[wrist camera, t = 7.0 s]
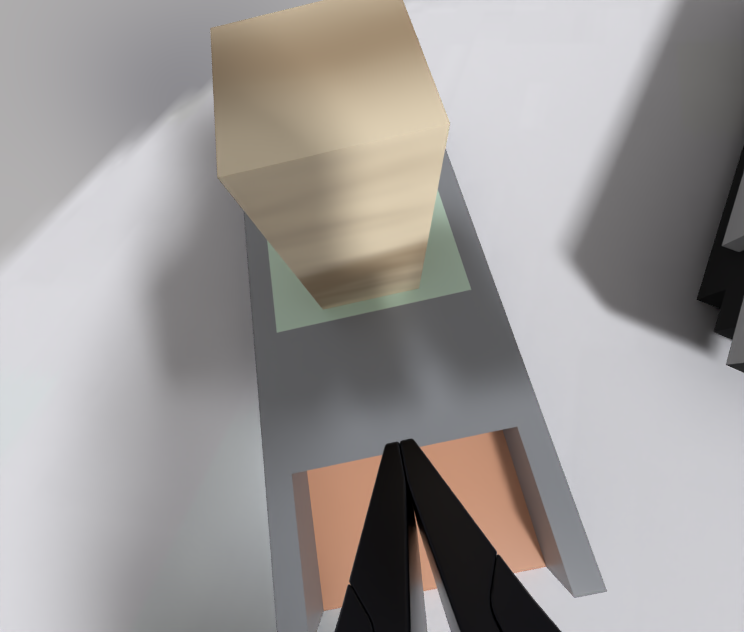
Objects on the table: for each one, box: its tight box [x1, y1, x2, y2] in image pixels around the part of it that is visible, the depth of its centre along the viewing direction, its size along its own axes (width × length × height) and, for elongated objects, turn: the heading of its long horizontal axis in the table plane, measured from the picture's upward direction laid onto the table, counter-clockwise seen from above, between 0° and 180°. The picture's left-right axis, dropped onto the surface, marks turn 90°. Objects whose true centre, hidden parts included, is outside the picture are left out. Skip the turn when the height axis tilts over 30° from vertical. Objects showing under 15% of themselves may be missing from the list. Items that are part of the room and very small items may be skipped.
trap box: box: [244, 148, 607, 632], centre depth 16 cm, size 27×12×2 cm, turn 12°
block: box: [210, 0, 450, 310], centre depth 11 cm, size 5×5×9 cm
